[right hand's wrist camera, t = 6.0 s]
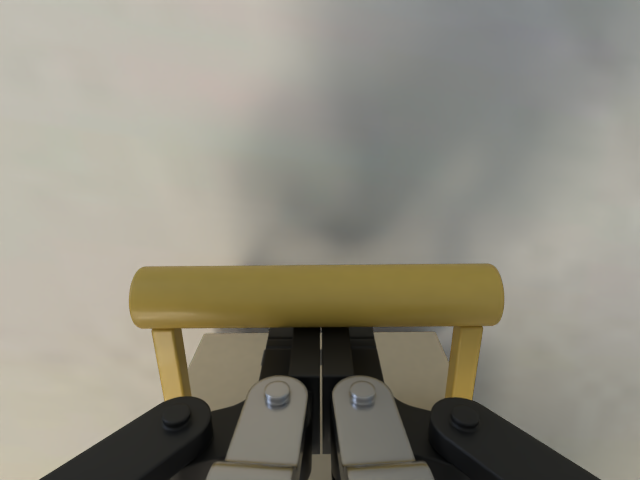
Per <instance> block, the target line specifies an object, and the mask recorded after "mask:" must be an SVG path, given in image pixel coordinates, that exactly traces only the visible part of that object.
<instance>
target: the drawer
mask: <svg viewBox="0 0 640 480" xmlns="http://www.w3.org/2000/svg"><path fill="white" fill-rule="evenodd" d="M129 309H130V315H131V318H132V321H133V322H134V324H135V325H136V326H137V327H139V328H142V329H152V336H153V342H154V347H155V353H156V358H157V363H158V369H159V374H160V380H161V385H162V390H163V396H164V401H167V400H169V399H173V398H176V397H182V396H192V397H197V398H200V399H202V400H204V401H205V402H206V403H207V404H208V405H209V407H210V409H211V411H214V410H218V409H222V408H227V407H230V406H233V405H236V404H238V403H240V402H242V401H244V400H245V399H246V396H247V394H248V391H249V390H250V388H251V387H252V386H253V385H254V384H255V383H257V382H258V381H259V377H260V372H261V367H262V363H263V358H264V353H265V349H266V343H267V339H268V334H269V333H206V334H204V335H203V337H202V339H201V342H200V344H199V346H198V348H197V350H196V352H195V355H194V357H193V359H192V361H191V363H190V366H189V368H188V369H187V362H186V356H185V349H184V343H183V337H182V330H181V328H285V327H415V326H454V328H453V336H452V344H451V352H450V360H449V361H448V359H447V357H446V355H445V353H444V350H443V348H442V346H441V344H440V342H439V339H438V337H437V335H436V333H435V332H373V333H374V339H375V342H376V349H377V351H378V356H379V360H380V365H381V370H382V374H383V379H384V383H385V384H386V385H387V386H388V387H389V388H390V390H391V392H392V394H393V396H394V397H395V398H396V399H398V400H399V401H401V402H403V403H405V404H407V405H410V406H413V407H417V408H421V409H425V410H429V411H431V409H432V407H433V405H434V404H435V403H436V402H438V401H439V400H441V399H444V398H449V397H460V398H466V399H469V400H472V397H473V391H474V384H475V378H476V371H477V365H478V358H479V352H480V345H481V339H482V332H483V327H482V326H493V325H496V324H497V323H498V322H499V321H500V319H501V317H502V314H503V309H504V289H503V284H502V280H501V277H500V274H499V272H498V270H497V269H496V267H494V266H493V265H491V264H386V265H271V266H156V267H142V268H140V269H139V270H138V271H137V272H136V274H135V275H134V277H133V280H132V283H131V287H130V293H129ZM309 480H331V454H322V333H320V454H312V469H311V474H310V476H309Z"/></svg>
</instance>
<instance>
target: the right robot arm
mask: <svg viewBox="0 0 640 480" xmlns="http://www.w3.org/2000/svg"><path fill="white" fill-rule="evenodd" d="M312 454H320V327H285V328H270V329H269V334H268V339H267V343H266V349H265V353H264V358H263V363H262V367H261V372H260V377H259V381H258V382H257V383H255V384H254V385H253V386H252V387H251V388H250V390H249V391H248V394H247V396H246V399H245V400H244V401H242V402H240V403H238V404H236V405H233V406H230V407H227V408H222V409H218V410H214V411H211V409H210V407H209V405H208V404H207V403H206V402H205V401H204V400H202V399H200V398H197V397H192V396H182V397H176V398H173V399H169V400H167V401H165V402H163V403H161V404H159V405H157V406H156V407H154V408H153V409H151V410H149V411H148V412H146V413H145V414H143V415H142V416H140V417H138V418H137V419H135V420H134V421H132V422H130V423H129V424H127V425H126V426H124V427H122V428H121V429H119V430H118V431H116V432H114V433H113V434H111V435H110V436H108V437H106V438H105V439H103V440H102V441H100V442H98V443H97V444H95V445H94V446H92V447H91V448H89V449H87V450H86V451H84V452H83V453H81V454H79V455H78V456H76V457H75V458H73V459H71V460H70V461H68V462H67V463H65V464H63V465H62V466H60V467H59V468H57V469H55V470H54V471H52V472H51V473H49V474H48V475H46V476H44V477H43V478H41V479H40V480H309V476H310V474H311V469H312ZM322 454H331V480H600V479H599V478H597V477H596V476H594V475H592V474H591V473H589V472H588V471H586V470H585V469H583V468H581V467H580V466H578V465H577V464H575V463H573V462H572V461H570V460H569V459H567V458H565V457H564V456H562V455H561V454H559V453H557V452H556V451H554V450H553V449H551V448H549V447H548V446H546V445H545V444H543V443H541V442H540V441H538V440H537V439H535V438H534V437H532V436H530V435H529V434H527V433H526V432H524V431H522V430H521V429H519V428H518V427H516V426H514V425H513V424H511V423H510V422H508V421H506V420H505V419H503V418H502V417H500V416H498V415H497V414H495V413H494V412H492V411H491V410H489V409H487V408H486V407H484V406H483V405H481V404H479V403H477V402H475V401H472V400H469V399H466V398H460V397H449V398H444V399H441V400H439V401H438V402H436V403H435V404H434V405H433V407H432V409H431V411H429V410H425V409H421V408H417V407H413V406H410V405H407V404H405V403H403V402H401V401H399V400H398V399H396V398H395V397H394V396H393V394H392V392H391V390H390V388H389V387H388V386H387V385H386V384H385V383H384V379H383V374H382V370H381V365H380V360H379V356H378V351H377V349H376V342H375V339H374V333H373V328H372V327H322Z"/></svg>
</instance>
